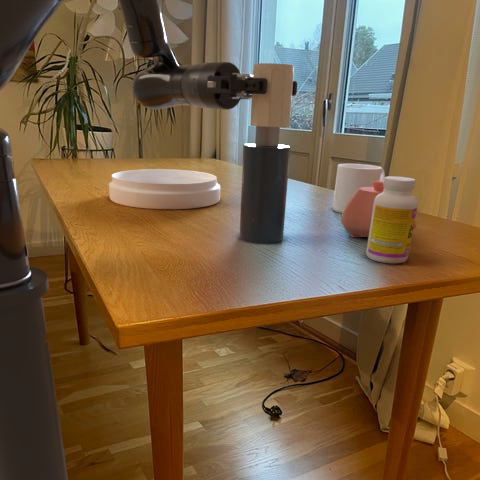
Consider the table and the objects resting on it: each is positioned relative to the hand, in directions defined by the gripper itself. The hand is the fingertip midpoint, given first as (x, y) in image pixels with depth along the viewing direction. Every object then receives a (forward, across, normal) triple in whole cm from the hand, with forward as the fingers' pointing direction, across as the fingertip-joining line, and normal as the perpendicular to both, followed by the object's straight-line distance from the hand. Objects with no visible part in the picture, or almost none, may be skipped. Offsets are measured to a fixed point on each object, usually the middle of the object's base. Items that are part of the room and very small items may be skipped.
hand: (280, 87), depth 76 cm
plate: (-42, +8, +25) cm, 50 cm away
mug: (-6, +38, +25) cm, 46 cm away
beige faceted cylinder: (-2, 0, +6) cm, 6 cm away
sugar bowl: (+10, +19, +25) cm, 33 cm away
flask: (-2, 0, +25) cm, 25 cm away
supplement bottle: (+19, +7, +25) cm, 32 cm away
